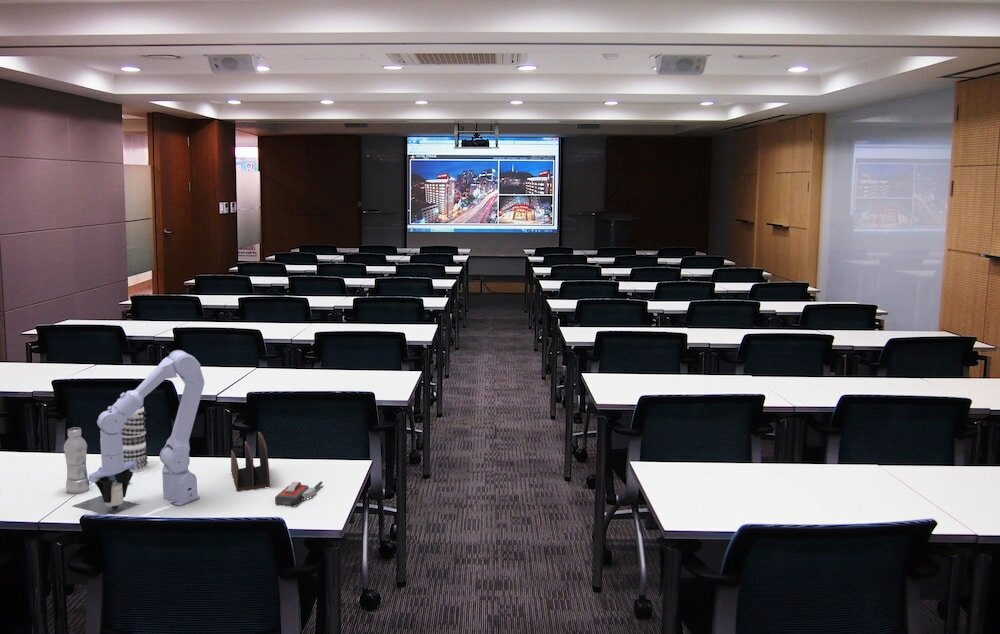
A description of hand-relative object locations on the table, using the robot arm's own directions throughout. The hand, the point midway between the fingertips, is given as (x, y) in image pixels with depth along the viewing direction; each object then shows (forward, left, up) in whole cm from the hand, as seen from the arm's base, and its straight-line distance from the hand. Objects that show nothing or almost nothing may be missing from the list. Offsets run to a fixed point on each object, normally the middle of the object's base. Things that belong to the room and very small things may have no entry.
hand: (114, 499), depth 251 cm
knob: (0, 0, -1) cm, 1 cm away
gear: (+18, -14, -4) cm, 23 cm away
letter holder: (-15, -39, -4) cm, 42 cm away
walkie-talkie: (-38, -34, -4) cm, 51 cm away
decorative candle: (+27, -30, -4) cm, 41 cm away
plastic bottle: (+22, -5, -4) cm, 23 cm away
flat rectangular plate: (+4, 0, -3) cm, 5 cm away
